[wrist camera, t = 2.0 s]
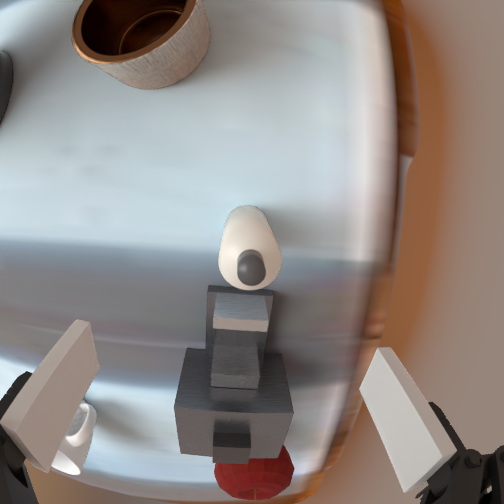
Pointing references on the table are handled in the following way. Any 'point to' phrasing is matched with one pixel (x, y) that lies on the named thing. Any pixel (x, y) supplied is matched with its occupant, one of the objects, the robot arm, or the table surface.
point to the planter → (142, 39)
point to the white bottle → (249, 250)
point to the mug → (76, 441)
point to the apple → (256, 477)
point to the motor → (234, 383)
